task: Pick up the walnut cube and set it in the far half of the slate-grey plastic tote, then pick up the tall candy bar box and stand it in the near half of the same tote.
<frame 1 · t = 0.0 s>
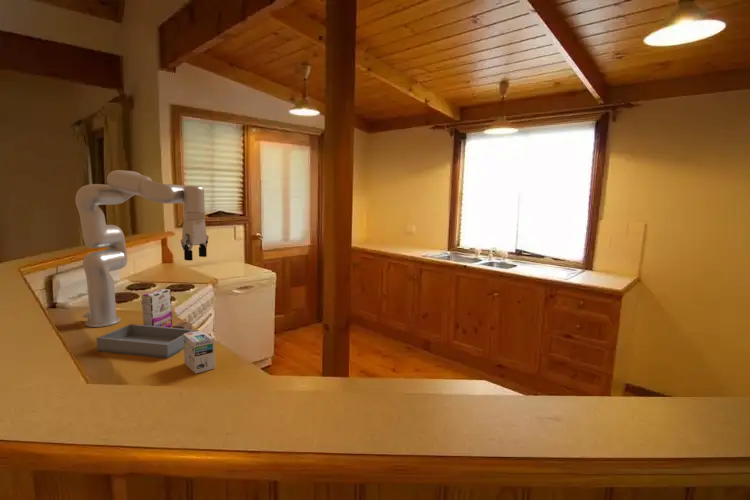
hand: (195, 258, 160), 31 cm above the table, tool pointing down, fingers open, 9 cm apart
light bulb box: (199, 366, 132), on the table
candy bar box: (158, 330, 165), on the table
walnut cube: (182, 336, 159), on the table
tote: (148, 346, 147), on the table
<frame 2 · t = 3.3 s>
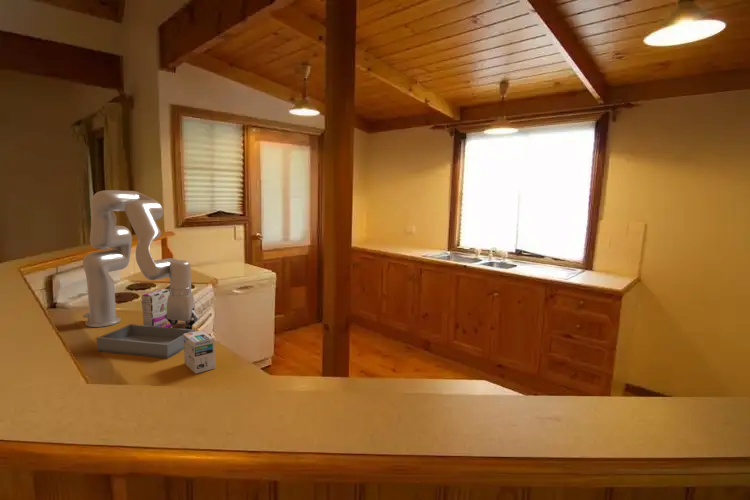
hand: (182, 334, 158), 0 cm above the table, tool pointing down, fingers closed on walnut cube, 5 cm apart
walnut cube: (182, 335, 159), on the table, touching gripper
everything else where it was.
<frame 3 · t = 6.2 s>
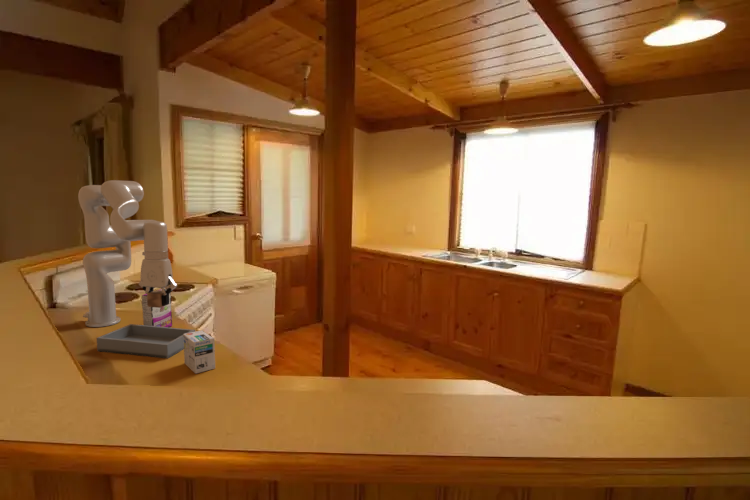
hand: (158, 303, 144), 17 cm above the table, tool pointing down, fingers closed on walnut cube, 5 cm apart
walnut cube: (158, 305, 144), point 16 cm above the table, touching gripper
everything else where it was.
when the fingers open (3 cm above the table, at t = 9.0 s): walnut cube drops 2 cm, resting on tote.
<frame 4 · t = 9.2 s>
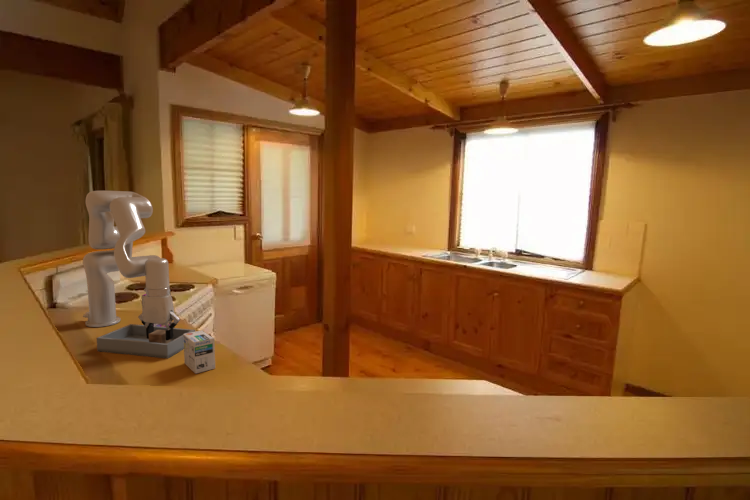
hand: (159, 337, 145), 4 cm above the table, tool pointing down, fingers open, 7 cm apart
walnut cube: (160, 345, 146), point 1 cm above the table, touching tote
everything else where it was.
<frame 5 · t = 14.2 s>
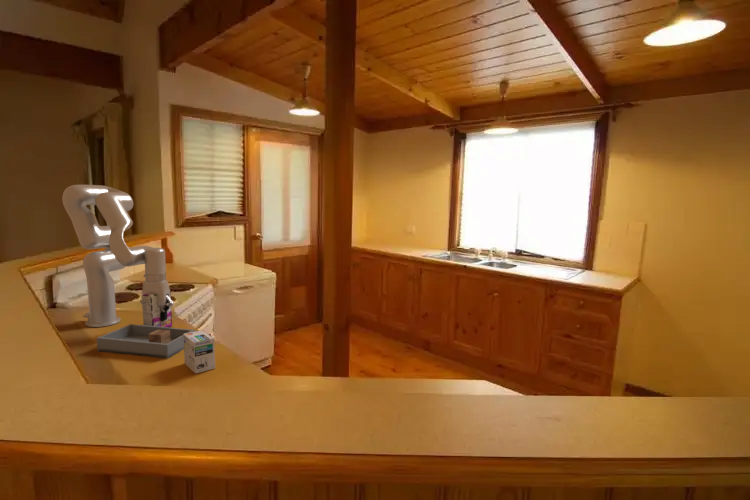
hand: (157, 319, 164), 4 cm above the table, tool pointing down, fingers closed on candy bar box, 5 cm apart
candy bar box: (158, 330, 165), on the table, touching gripper
everything else where it was.
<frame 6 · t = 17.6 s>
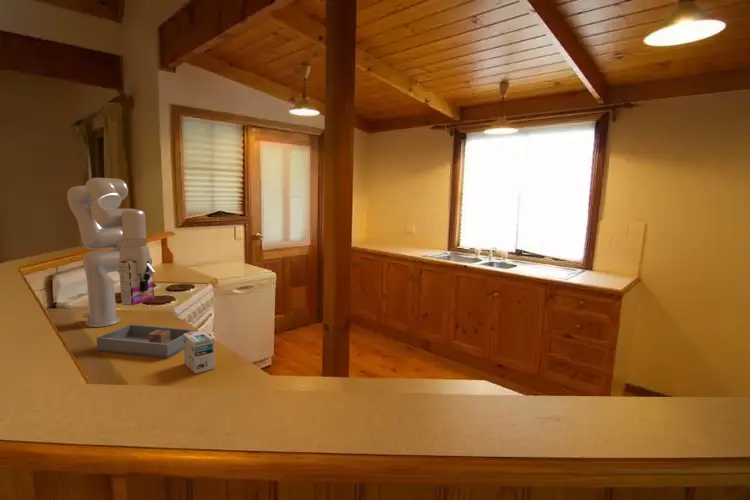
hand: (137, 290, 147), 21 cm above the table, tool pointing down, fingers closed on candy bar box, 5 cm apart
candy bar box: (138, 302, 148), point 16 cm above the table, touching gripper
everything else where it was.
when the fingers open (8 cm above the table, at t = 21.1 s): candy bar box drops 2 cm, resting on tote.
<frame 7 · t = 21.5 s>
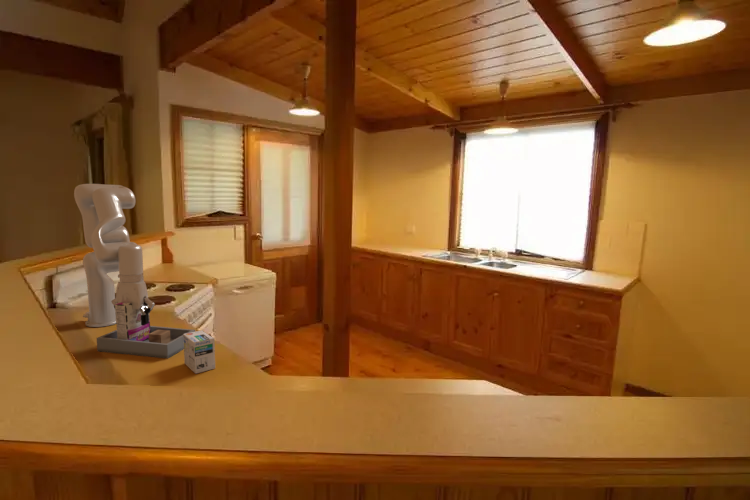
hand: (134, 323, 146), 9 cm above the table, tool pointing down, fingers open, 8 cm apart
candy bar box: (134, 343, 147), point 1 cm above the table, touching tote
everything else where it was.
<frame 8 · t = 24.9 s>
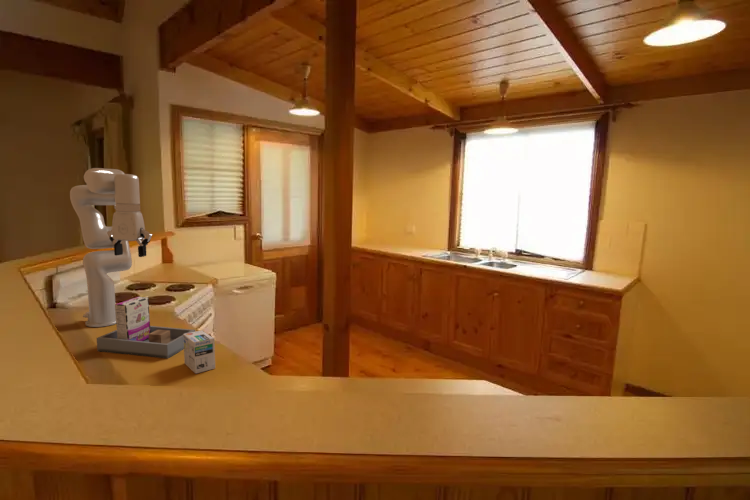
hand: (130, 255, 143), 34 cm above the table, tool pointing down, fingers open, 9 cm apart
nothing on the table moved.
at the end: walnut cube inside the target area on the tote (4.9 cm from its centre), point 1.0 cm above the tote's base; candy bar box inside the target area on the tote (5.8 cm from its centre), point 0.8 cm above the tote's base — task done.
